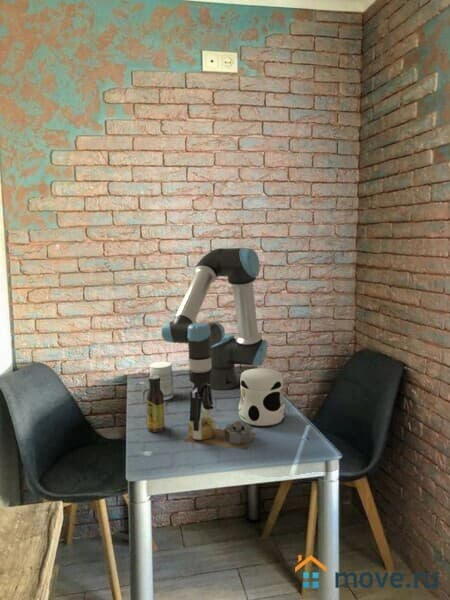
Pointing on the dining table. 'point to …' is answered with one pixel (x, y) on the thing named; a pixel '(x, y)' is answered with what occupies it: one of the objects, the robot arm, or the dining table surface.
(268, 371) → the milk container
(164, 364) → the supplement tub
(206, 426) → the brass gear
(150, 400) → the sauce bottle
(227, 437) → the steel gear
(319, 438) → the dining table surface
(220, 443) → the gear board
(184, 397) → the dining table surface
